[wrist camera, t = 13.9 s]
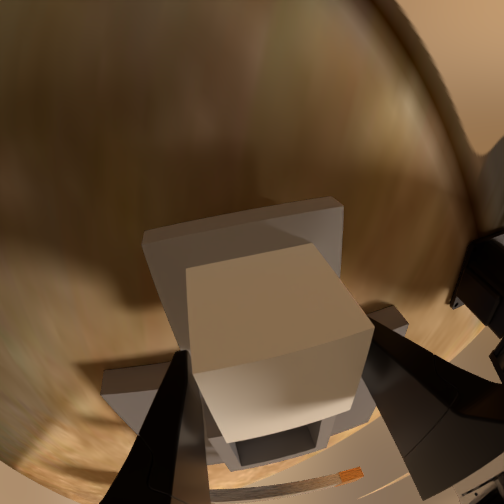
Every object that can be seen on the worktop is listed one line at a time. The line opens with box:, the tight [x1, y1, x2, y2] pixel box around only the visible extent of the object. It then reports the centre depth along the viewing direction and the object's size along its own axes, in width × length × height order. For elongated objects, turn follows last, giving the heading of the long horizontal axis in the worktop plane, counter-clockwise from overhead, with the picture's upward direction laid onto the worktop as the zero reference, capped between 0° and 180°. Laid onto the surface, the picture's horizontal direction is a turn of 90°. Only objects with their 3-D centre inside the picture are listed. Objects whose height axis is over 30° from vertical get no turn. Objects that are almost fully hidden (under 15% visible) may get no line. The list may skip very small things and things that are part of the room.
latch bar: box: [210, 467, 364, 504], centre depth 19 cm, size 19×2×1 cm, turn 67°
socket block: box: [100, 305, 409, 472], centre depth 19 cm, size 20×15×6 cm
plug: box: [141, 196, 375, 443], centre depth 11 cm, size 7×7×8 cm
